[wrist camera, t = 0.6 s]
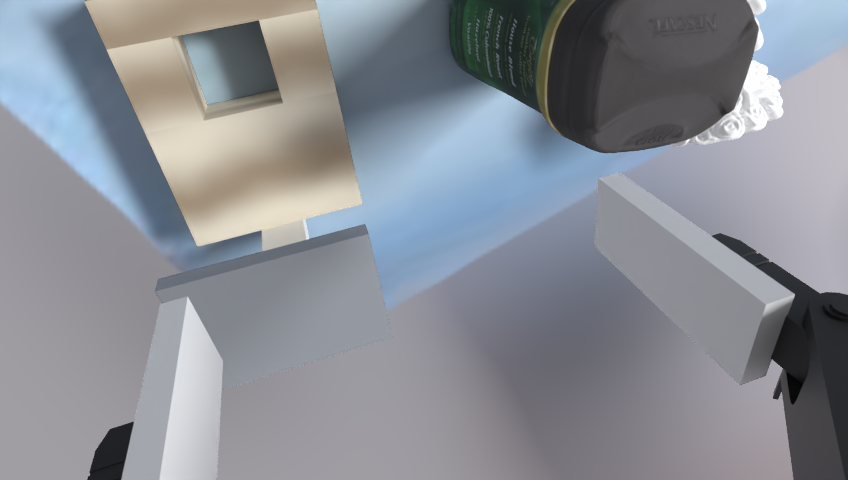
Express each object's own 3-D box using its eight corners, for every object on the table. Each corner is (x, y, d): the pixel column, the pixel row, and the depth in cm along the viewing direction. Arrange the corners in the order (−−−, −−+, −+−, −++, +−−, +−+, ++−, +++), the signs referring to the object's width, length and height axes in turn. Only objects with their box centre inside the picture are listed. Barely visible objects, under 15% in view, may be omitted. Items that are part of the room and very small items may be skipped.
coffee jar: (445, 81, 39) (572, 179, 23) (444, -38, 34) (598, -12, 19) (560, 68, 41) (745, 151, 25) (572, -46, 37) (802, -28, 21)
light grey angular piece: (189, 160, 36) (155, 291, 23) (327, 128, 38) (368, 234, 25) (224, 241, 40) (211, 393, 27) (348, 209, 42) (392, 337, 29)
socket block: (99, -6, 30) (84, 1, 27) (301, -41, 32) (306, -39, 29) (201, 223, 39) (197, 246, 36) (354, 184, 41) (362, 203, 38)
